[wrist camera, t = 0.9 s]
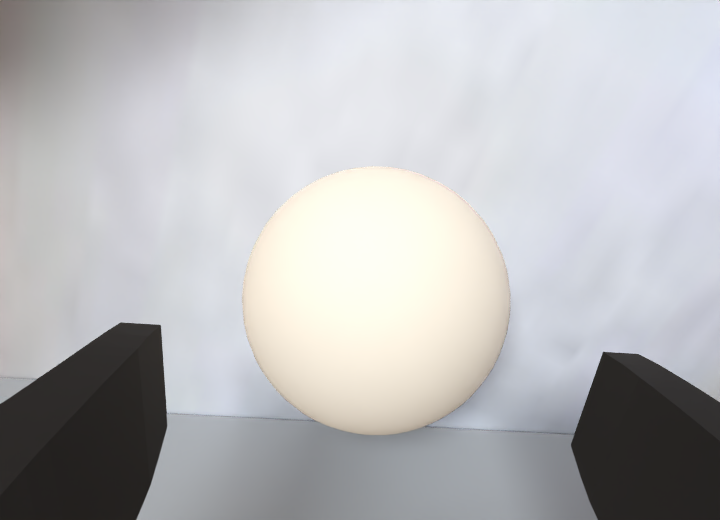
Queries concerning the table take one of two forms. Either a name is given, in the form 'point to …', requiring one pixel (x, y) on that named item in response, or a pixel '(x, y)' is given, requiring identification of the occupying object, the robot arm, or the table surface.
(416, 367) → the ball
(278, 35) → the table surface
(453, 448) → the grey barrier bar
